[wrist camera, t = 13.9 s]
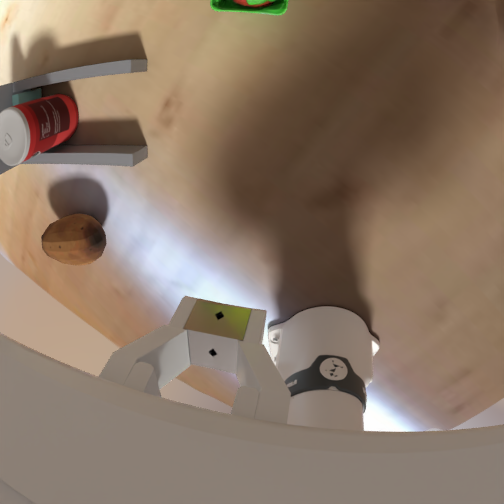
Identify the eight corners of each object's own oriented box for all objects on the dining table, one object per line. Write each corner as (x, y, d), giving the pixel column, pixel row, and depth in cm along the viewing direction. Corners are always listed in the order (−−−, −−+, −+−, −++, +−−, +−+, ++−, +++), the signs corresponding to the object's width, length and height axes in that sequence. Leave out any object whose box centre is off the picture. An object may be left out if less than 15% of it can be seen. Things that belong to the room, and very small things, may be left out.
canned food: (39, 128, 40) (-12, 149, 30) (55, 84, 36) (0, 97, 26) (69, 151, 41) (19, 177, 32) (87, 107, 37) (33, 124, 28)
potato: (128, 247, 48) (102, 276, 42) (70, 248, 51) (43, 273, 44) (115, 203, 45) (84, 229, 38) (56, 210, 47) (26, 233, 41)
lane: (147, 157, 40) (111, 180, 32) (30, 155, 42) (-8, 175, 35) (147, 59, 33) (106, 60, 25) (24, 80, 35) (-18, 90, 28)
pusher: (45, 144, 41) (23, 154, 36) (39, 144, 41) (17, 154, 37) (41, 88, 36) (18, 94, 32) (34, 89, 36) (12, 95, 32)
